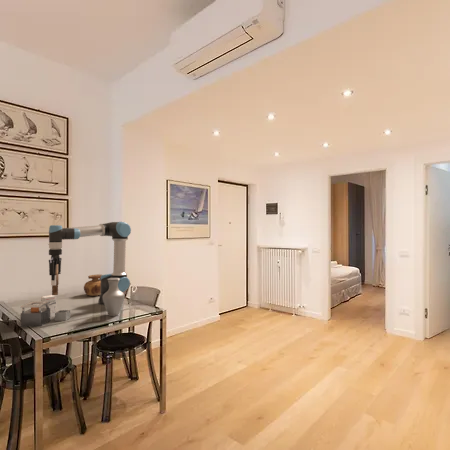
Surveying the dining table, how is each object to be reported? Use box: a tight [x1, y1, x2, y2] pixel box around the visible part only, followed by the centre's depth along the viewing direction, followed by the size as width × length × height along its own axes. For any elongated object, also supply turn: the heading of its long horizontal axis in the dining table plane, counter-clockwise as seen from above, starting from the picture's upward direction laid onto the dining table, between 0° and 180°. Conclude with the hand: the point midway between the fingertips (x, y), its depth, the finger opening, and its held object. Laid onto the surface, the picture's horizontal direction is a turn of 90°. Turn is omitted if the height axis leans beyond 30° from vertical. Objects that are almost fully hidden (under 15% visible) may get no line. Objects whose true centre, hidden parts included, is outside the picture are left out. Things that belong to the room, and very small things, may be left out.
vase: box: [103, 278, 125, 317], centre depth 217 cm, size 14×14×25 cm
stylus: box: [51, 264, 59, 296], centre depth 205 cm, size 3×3×20 cm
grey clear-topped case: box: [20, 300, 51, 328], centre depth 199 cm, size 12×12×12 cm
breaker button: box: [30, 307, 39, 312], centre depth 199 cm, size 4×4×5 cm
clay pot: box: [83, 273, 103, 297], centre depth 282 cm, size 19×19×20 cm
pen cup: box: [54, 309, 71, 322], centre depth 208 cm, size 7×7×5 cm
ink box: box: [40, 294, 57, 314], centre depth 224 cm, size 9×5×12 cm, turn 148°
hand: (55, 284), depth 205 cm, fingers closed on stylus, 3 cm apart
